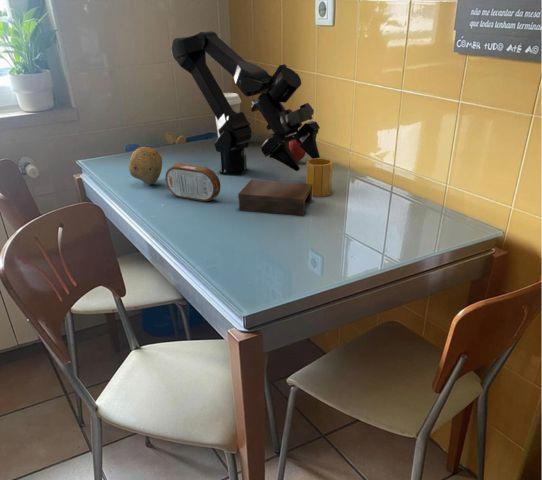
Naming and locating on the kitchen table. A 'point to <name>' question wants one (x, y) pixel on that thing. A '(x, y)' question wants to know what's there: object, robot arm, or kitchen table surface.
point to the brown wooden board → (275, 197)
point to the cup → (319, 176)
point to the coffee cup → (232, 104)
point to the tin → (193, 182)
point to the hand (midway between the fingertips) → (309, 165)
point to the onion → (296, 150)
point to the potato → (145, 165)
